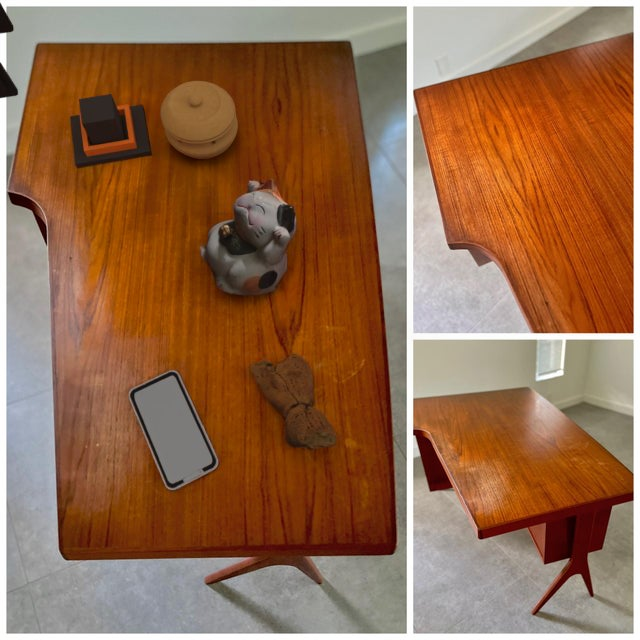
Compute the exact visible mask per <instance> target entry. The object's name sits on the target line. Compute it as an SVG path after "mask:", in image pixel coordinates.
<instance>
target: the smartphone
mask: <svg viewBox="0 0 640 640" xmlns="http://www.w3.org/2000/svg"><path fill="white" fill-rule="evenodd" d="M128 399H129V401H130V405H131V406H132V409H133V411H134V414H135V416H136V418H137V422H138V423H139V425H140V429H141V430H142V433H143V436H144V439H145V440H146V443H147V445H148V448H149V450H150V452H151V455H152V457H153V460H154V462H155V465H156V467H157V469H158V472H159V474H160V476H161V479H162V482H163V484H164V486H165V488H166V489H168V490H170V491H176V490H179V489H181V488H182V487H185V486H186V485H189V484H190V483H192V482H195V480H198V479H200V478H202V477H203V476H205V475H207V474H209V473H211V472H213V471H214V470H216V469H217V468H218V466H219V461H220V460H219V458H218V455H217V453H216V451H215V449H214V447H213V445H212V442H211V440H210V437H209V435H208V433H207V431H206V429H205V426H204V424H203V422H202V420H201V418H200V415H199V414H198V412H197V409H196V407H195V405H194V403H193V401H192V399H191V396H190V394H189V392H188V390H187V388H186V386H185V383H184V381H183V379H182V377H181V375H180V373H179V372H178V371H177V370H174V369H172V370H171V369H170V370H167V371H166V372H165V373H162V374H159V375H157V376H156V377H153V378H150V379H149V380H147V381H144V382H142V383H141V384H139V385H136V386H134V387H132V388H131V389H130V390H129V392H128Z"/></svg>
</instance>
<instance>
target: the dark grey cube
mask: <svg viewBox="0 0 640 640" xmlns="http://www.w3.org/2000/svg"><path fill="white" fill-rule="evenodd" d="M78 105H79V113H81V122H82V125H83V127H84V129H85V131H86V133H87V135H88V137H89V138H90V140H91V142H92V144H93V145H99V144H105V143H111V142H117V141H122V140H126V138H125V132H124V126H123V120H122V118H121V116H120V113H119V111H118V109H117V106H118V105H117V104H116V101H115V100H114V97H113V95H112V94H111V93H109V94H108V93H107V94H103V95H96V96H89V97H83V98H79V99H78Z"/></svg>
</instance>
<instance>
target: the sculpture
mask: <svg viewBox="0 0 640 640" xmlns="http://www.w3.org/2000/svg"><path fill="white" fill-rule="evenodd" d="M248 370H249V373H250V375H251V376H252V377H253V378H254V381H255V383H256V387H258V389H259V390H260V391H261V392H262V393H263V396H264V397H265V399H266V400H267V401H268V403H269V404H270V405H271V406H272V407H273V408H274V409H275V410H277V411H278V412H279V413H280V414H281V415H282V417H283V419H284V420H285V422H284V423H285V436H284V439H285V442H286V443H287V444H288V445H289V447H291V448H295V449H296V448H297V449H302V448H305V449H306V450H309V451H313V450H317V449H320V448H330V447H333V446H335V445H336V443H337V441H338V436H337V433H336V431H335V430H334V427H333V425H332V424H331V423H330V422H329V420H328V418H327V417H326V415H324V413H323V412H321V411H320V410H318V409H317V408H315V407H314V405H315V395H314V374H313V372H312V370H311V367H310V365H309V364H308V362H307V361H306V359H305V358H304V357H302V356H301V355H298V354H297V353H292V354H291V355H289V356H288V357H286V358H285V359H283V360H280V361H278V363H275V366H274V364H272V363H271V362H270V361H269V360H267V359H265V360H261V361H260V362H259V363H256V364H253V363H251V364H249V366H248Z"/></svg>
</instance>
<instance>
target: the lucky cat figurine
mask: <svg viewBox="0 0 640 640" xmlns="http://www.w3.org/2000/svg"><path fill="white" fill-rule="evenodd" d="M232 208H233V216H234V218H233V219H228V220H224V221H221V222H218V223H217V224H215V225H214V226H213V227H211V229H210V230H209V231H208V233H207V243H206V245H205V246H204V245H200V246H199V250H200V256H201V258H202V260H204V262H206V263H207V265H208V266H209V268H210V270H211V274H212V276H213V280H214V284H215V286H216V287H217V288H218V289H220V290H221V291H222V292H225V293H228V294H230V295H237V296H261V295H265V294H268V293H272V292H274V291H277V289H278V287H279V283H280V281H281V279H282V278H283V277H284V275H285V274H286V271H287V270H288V253H287V248H288V245H289V243H290V242H291V240H292V239H293V238H294V236H295V234H296V230H297V215H296V211H295V206H294V205H290V204H288V203H287V202H286V201H284V199H283V198H282V196H281V194H280V192H279V189H278V185H277V183H276V181H275V180H274V179H273V178H270V179H268V180H266V181H265V182H261V181H257V180H248V184H247V191H246V193H244V194H242V195H241V196H239V197H238V198H237V199H235V200H234V203H233V205H232Z"/></svg>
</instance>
